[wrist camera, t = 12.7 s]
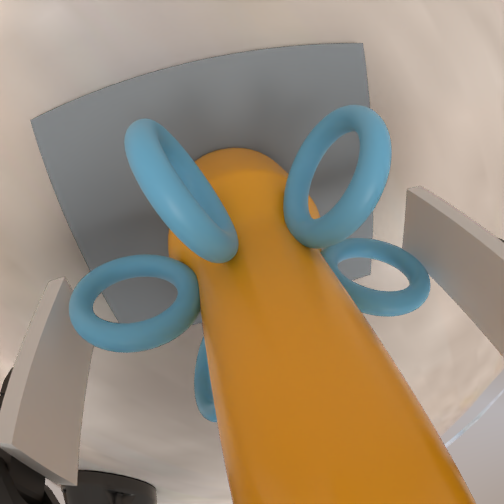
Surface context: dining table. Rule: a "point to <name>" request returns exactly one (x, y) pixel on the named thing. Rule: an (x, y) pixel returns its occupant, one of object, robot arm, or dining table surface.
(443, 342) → the dining table surface
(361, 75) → the card
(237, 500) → the orange hollow ringed part
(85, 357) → the robot arm
